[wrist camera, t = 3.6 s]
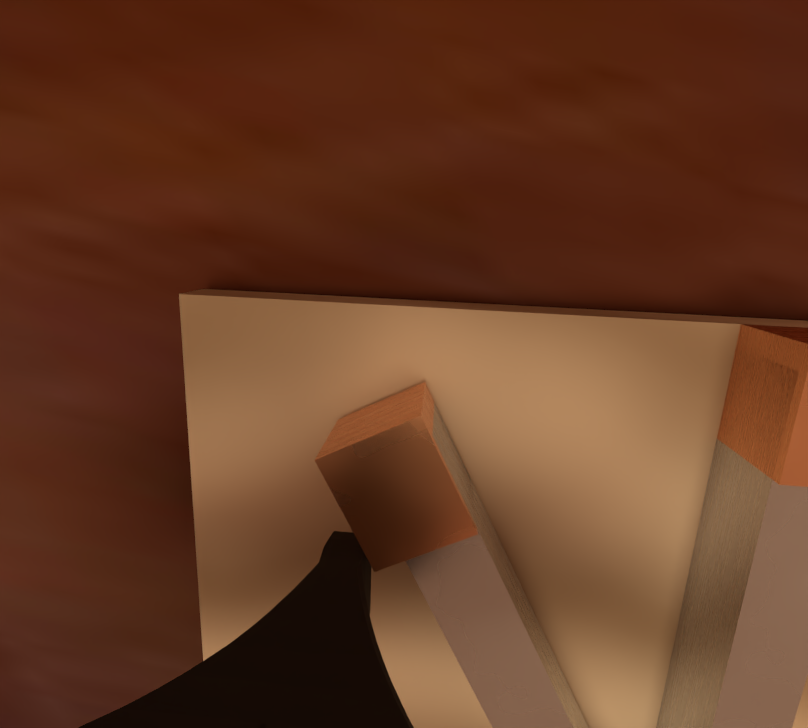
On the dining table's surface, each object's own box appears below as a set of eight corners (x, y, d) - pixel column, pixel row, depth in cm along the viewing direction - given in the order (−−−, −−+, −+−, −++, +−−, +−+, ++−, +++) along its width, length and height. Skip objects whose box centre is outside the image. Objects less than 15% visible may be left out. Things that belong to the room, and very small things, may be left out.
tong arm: (605, 762, 13) (635, 862, 11) (527, 784, 14) (542, 883, 12) (425, 381, 11) (421, 416, 9) (337, 419, 12) (314, 460, 10)
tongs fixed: (708, 863, 14) (770, 1008, 12) (548, 844, 15) (571, 981, 12) (849, 330, 11) (989, 362, 8) (629, 317, 11) (690, 345, 8)
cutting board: (808, 830, 15) (838, 879, 14) (229, 764, 16) (212, 804, 15) (970, 329, 12) (1030, 339, 10) (203, 288, 13) (179, 294, 12)
